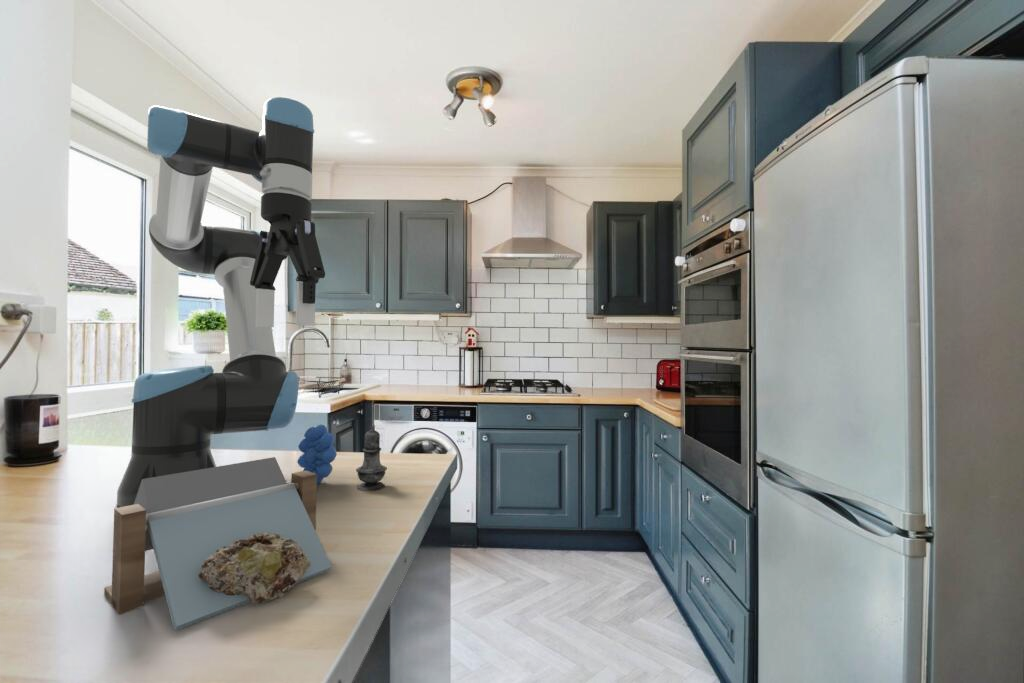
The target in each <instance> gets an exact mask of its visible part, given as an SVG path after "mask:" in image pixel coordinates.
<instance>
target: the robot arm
mask: <svg viewBox="0 0 1024 683" xmlns="http://www.w3.org/2000/svg"><path fill="white" fill-rule="evenodd" d="M261 119H262V130H260V131H256V130H253V129H250V128H246V127H242V126H238V125H234V124H230V123H225V122H222V121H220V120H216V119H212V118H208V117H204V116H202V115H198V114H195V113H194V114H193V113H190V112H187V111H184V110H181V109H176V108H175V109H174V108H169V107H165V106H162V105H161V106H160V105H152V106H151V107H149V109H148V115H147V138H146V139H147V140H146V141H147V143H146V144H147V145H146V146H147V150H148V151H149V153H150V152H151V153H152V154H153V155H154V154H155V155H158V156H160V158H159V159H160V160H159V163H160V164H159V174H158V186H157V201H156V212H155V213H153V215H152V216H151V218H150V220H149V224H148V233H149V237H150V240H151V242H152V245H153V246H154V248H155V249H156V250H157V252H159V253H160V255H161V256H162V257H163V258H165V259H166V260H167V261H168V262H170V263H171V264H172V265H174V266H176V267H178V268H180V269H182V270H184V271H188V272H190V273H196V274H203V275H204V274H205V275H212V276H213V275H214V279H215V281H216V282H217V284H218V285H219V286H220V287H221V288H223V296H224V297H223V300H224V307H225V308H224V309H225V310H224V311H225V320H226V330H227V331H226V332H227V333H226V334H227V341H228V354H229V361H228V362H227V363H226V364H225V365H224V366H223V367H222V370H221V372H214V369H213V367H212V365H195V366H185V367H176V368H168V369H161V370H159V369H158V370H155V371H153V370H152V371H148V372H144V373H142V374H140V375H139V376H137V378H135V380H134V386H133V396H132V397H133V398H132V399H131V403H132V404H133V407H132V408H133V411H132V428H131V429H132V432H131V455H130V456H131V457H130V460H129V463H128V465H127V467H126V469H125V472H124V474H123V477H122V479H121V481H120V483H119V486H118V489H117V493H116V505H117V506H118V507H124V506H129V505H134V502H135V499H136V496H137V493H138V490H139V487H140V484H141V481H142V479H146V478H152V477H158V476H164V475H170V474H176V473H182V472H188V471H194V470H200V469H206V468H212V467H217V464H216V462H215V458H214V457H213V453H212V450H211V441H212V440H211V437H212V435H222V434H234V433H235V434H236V433H247V432H248V433H249V432H258V431H259V432H260V431H261V432H262V431H265V432H268V431H270V430H276V429H278V430H279V429H284V428H287V427H288V426H289V425H290V424H291V423H292V421H293V420H294V416H295V413H296V410H297V409H296V408H297V404H298V396H299V376H298V374H297V373H296V372H295V371H292V370H288V371H287V368H286V364H285V362H284V360H283V359H282V358H280V357H279V356H277V355H276V347H275V341H274V336H273V328H274V326H275V292H276V288H275V286H274V283H275V282H276V279H277V277H278V274H279V270H280V268H281V266H282V264H283V261H284V260H287V258H288V256H289V258H290V261H291V263H292V265H293V267H294V269H295V271H296V274H297V276H296V278H295V281H296V283H295V284H296V286H295V288H296V289H295V320H294V321H295V322H294V323H295V325H296V326H307V327H308V326H310V327H311V326H312V327H314V326H316V325H315V323H316V317H315V316H316V290H317V289H316V286H317V284H318V283H319V280H320V279H324V278H325V277H326V271H325V268H324V264H323V260H322V255H321V253H320V252H321V251H320V249H319V244H318V241H317V237H316V224H315V222H313V221H312V206H313V205H312V202H311V200H312V198H313V152H314V133H315V128H314V115H313V113H312V111H311V109H310V108H309V107H308V106H306V104H304V103H302V102H301V101H298V100H295V99H292V98H290V97H289V98H288V97H281V96H278V97H277V96H275V97H271V98H269V99H267V100H266V101H265V102H264V105H263V114H262V116H261ZM213 168H216V169H223V170H226V171H231V172H235V173H236V172H237V173H242V174H245V175H250V176H251V177H252V178H254V179H255V180H256V181H257V182H259V183H261V192H262V193H263V195H262V196H260V217H261V218H262V219H263V220H264V221H266V222H267V223H269V224H270V226H269V231H265V230H261V231H255V230H253V229H248V230H247V229H241V228H237V227H236V228H234V227H228V226H222V225H216V224H215V225H214V224H210V223H209V224H208V223H202V219H203V218H202V217H203V213H204V208H205V205H206V204H205V203H206V200H207V195H208V192H209V186H210V181H211V178H212V173H213Z"/></svg>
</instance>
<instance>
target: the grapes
mask: <svg viewBox="0 0 1024 683" xmlns="http://www.w3.org/2000/svg"><path fill="white" fill-rule="evenodd" d="M303 437H304V438H303V439H302V440H301V441H300V443H299V444H298V449H299V451H300V452H301V453H302V454H301V455H300V456H299V457H298V459H297V461H296V463H297V464H298V466H299V467H300V468H303V470H302V471H305V470H306V471H309V472H312V473H315V474H317V485H318V484H321V482H323V480H324V478H328V477H329V476H330V475H331V473H332V472H333V465H332V464H331V463H333V462H334V461H335V460H336V457H337V456H338V454H337V450H336V448H335V446H334V445H333V444H334V442H335V441H336V439H335V436H334V435H333V434H332V433H331V432H329V430H328V428H327V426H326V425H324V424H317V426H316V427H314V426H311V427H309V428H308V429H307V430H306V431H305V433H304V435H303Z"/></svg>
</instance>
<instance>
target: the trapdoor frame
mask: <svg viewBox="0 0 1024 683" xmlns="http://www.w3.org/2000/svg"><path fill="white" fill-rule="evenodd" d="M290 480H291V482H290V483H294V484H295V488H296V490H297V492H298V494H299V497H300V499H301V501H302V503H303V505H304V507H305V509H306V512H307V514H308V516H309V518H310V520H311V522H312V525H313V527H314V529H315V531H317V530H316V529H317V527H316V526H317V494H318V493H317V487H318V486H317V485H318V484H317V474H315V473H312V472H309V471H306V470H305V471H303V470H301V471H296V472H291V479H290ZM145 535H146V509H144V508H143V507H142V506H140V505H139V504H134V505H129V506H124V507H120V506H118V507H115V508H114V511H113V538H112V539H113V540H112V541H113V542H112V569H111V570H112V571H111V574H112V575H111V576H112V577H111V584H110V585H108V586H104V588H103V593H104V597H105V598H106V599H107V601H109V603H110V604H111V605H112V607H113V608H114V610H115V611H116V612H117V614H118V615H122V614H125V613H127V612H130V611H134V610H136V609H139V608H141V607H144V603H145V602H147V601H150V600H154V599H156V598H158V597H163V596H165V592H164V588H163V584H162V580H161V576H160V572H159V570H158V571H154V572H151V573H148V574H145V570H146V569H145V566H146V565H145V562H146V561H145V560H146V551H145Z"/></svg>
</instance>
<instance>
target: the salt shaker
mask: <svg viewBox="0 0 1024 683" xmlns="http://www.w3.org/2000/svg"><path fill="white" fill-rule="evenodd" d="M380 436H381V435H380V432H378V431H377V430H375V427H374V426H373V425H372V426H371V427H370V430H369V431H366V433H365V434H364V448H362V451H363V461H362V462H363V463H362V465H361V466H359V467H357V468H356V469H355V471H356V472H357V477H358V478H359V481H361V482H362V483H360V484H359V485H358V486H356V488H357V489H358V490H359V491H363V492H374V491H379V490H381V489H384V488H385V487H386V484H384V482H381V481H382V479H383V478H384V477H385V475H386V470H387V469H388V468H387V466H385V465H382V464H381V463H382V462H381V458H380V456H381V455H380V454H381V450H382V448H381V447H380V443H381V442H380V441H381V438H380Z"/></svg>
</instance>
